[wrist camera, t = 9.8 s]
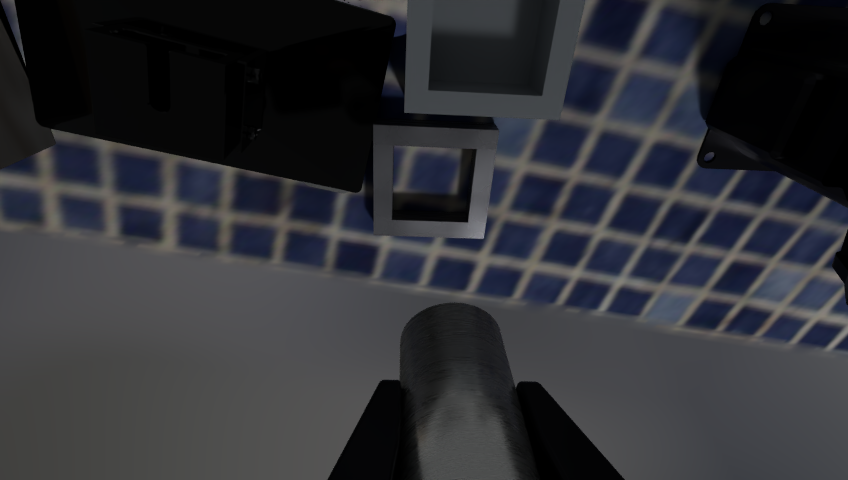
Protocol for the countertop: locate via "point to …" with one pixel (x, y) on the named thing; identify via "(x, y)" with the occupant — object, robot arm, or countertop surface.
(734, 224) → the countertop surface
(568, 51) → the tray
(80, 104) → the build plate
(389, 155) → the pin socket
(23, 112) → the rail
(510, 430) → the pin
